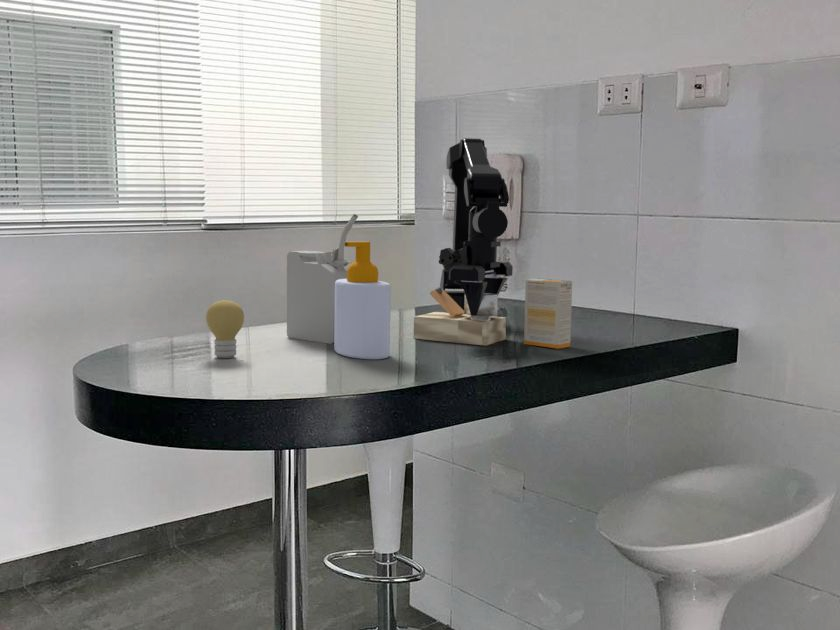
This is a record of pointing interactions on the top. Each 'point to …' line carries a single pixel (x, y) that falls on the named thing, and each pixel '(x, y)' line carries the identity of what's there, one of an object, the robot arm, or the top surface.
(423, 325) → the block
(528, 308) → the supplement box
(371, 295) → the soap bottle
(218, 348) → the light bulb
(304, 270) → the fuel canister
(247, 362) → the top surface
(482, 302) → the silver metal cylinder
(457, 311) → the orange knobbed panel
